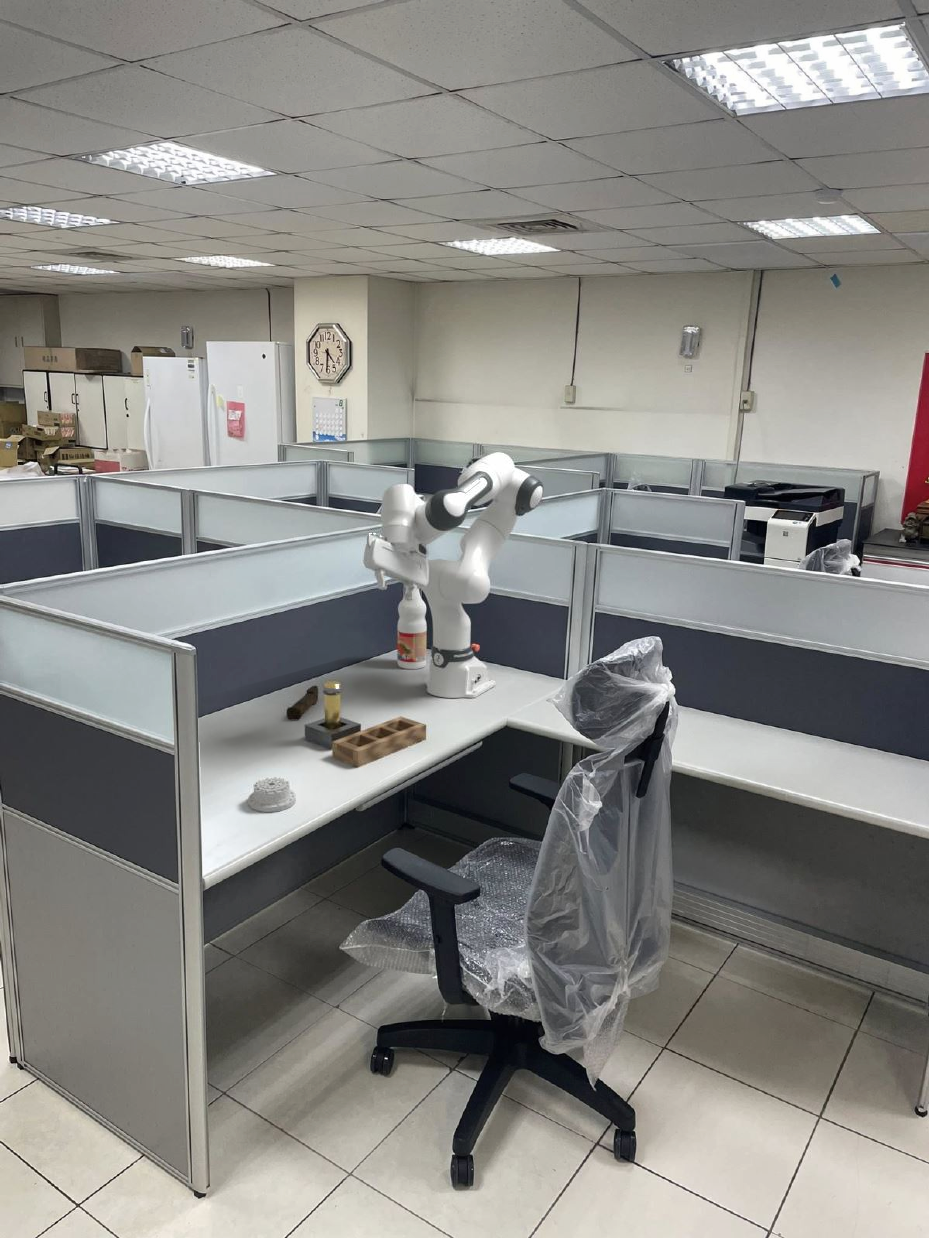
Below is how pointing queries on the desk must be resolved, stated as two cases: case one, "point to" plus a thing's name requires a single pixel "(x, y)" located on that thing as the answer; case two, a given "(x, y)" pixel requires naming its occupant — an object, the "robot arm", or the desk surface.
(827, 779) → the desk surface
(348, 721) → the socket block
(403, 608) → the fruit juice
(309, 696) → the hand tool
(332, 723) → the gold capped cylinder
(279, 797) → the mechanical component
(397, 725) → the wooden compartment tray
